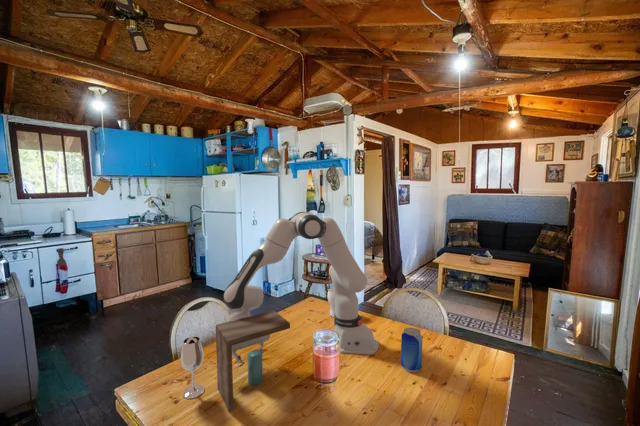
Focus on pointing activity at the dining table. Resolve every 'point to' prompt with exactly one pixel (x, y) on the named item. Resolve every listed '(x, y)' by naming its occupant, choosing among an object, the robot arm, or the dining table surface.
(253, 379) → the teal cylinder
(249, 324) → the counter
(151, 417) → the dining table surface
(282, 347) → the dining table surface
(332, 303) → the cup
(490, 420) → the dining table surface
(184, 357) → the wineglass
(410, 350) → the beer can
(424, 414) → the dining table surface
